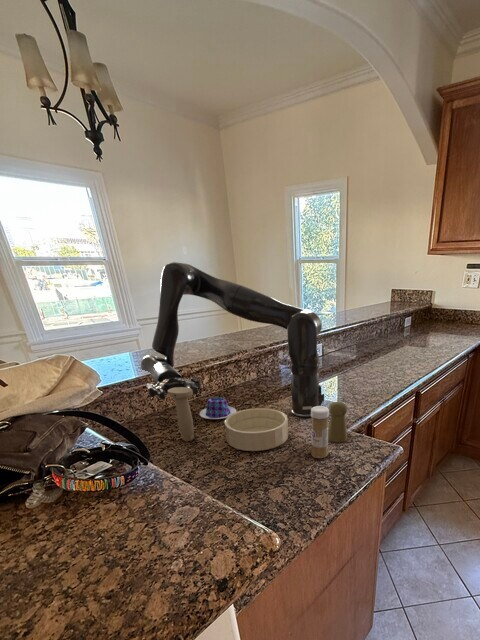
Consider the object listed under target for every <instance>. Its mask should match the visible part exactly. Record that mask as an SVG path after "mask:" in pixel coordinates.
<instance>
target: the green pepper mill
mask: <svg viewBox="0 0 480 640" xmlns="http://www.w3.org/2000/svg"><path fill="white" fill-rule="evenodd" d="M329 404H330V405H329V407H328V409H329V414H330V418H329V422H328V442H332V443H336V444H337V443H344V442H346V441H347V440H348V430H347V420H346V414H347V413H348V405H347V404H346V403H345V402H343V401H332V402H331V403H329Z"/></svg>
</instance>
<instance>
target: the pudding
mask: <svg viewBox="0 0 480 640" xmlns="http://www.w3.org/2000/svg"><path fill="white" fill-rule="evenodd" d="M236 412H237V409H236V407H233V406H229V405H228V401H227V399H226V398H225V397H222V396H217V397H216V396H214V397H212V398H209V399H208V400H207V402H206V408H204V409H202V410H201V411H199V416H200V417H201V418H203V419H208V420H221V419H226V418H227V417H228V416H230V415H232V414H233V413H236Z"/></svg>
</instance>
